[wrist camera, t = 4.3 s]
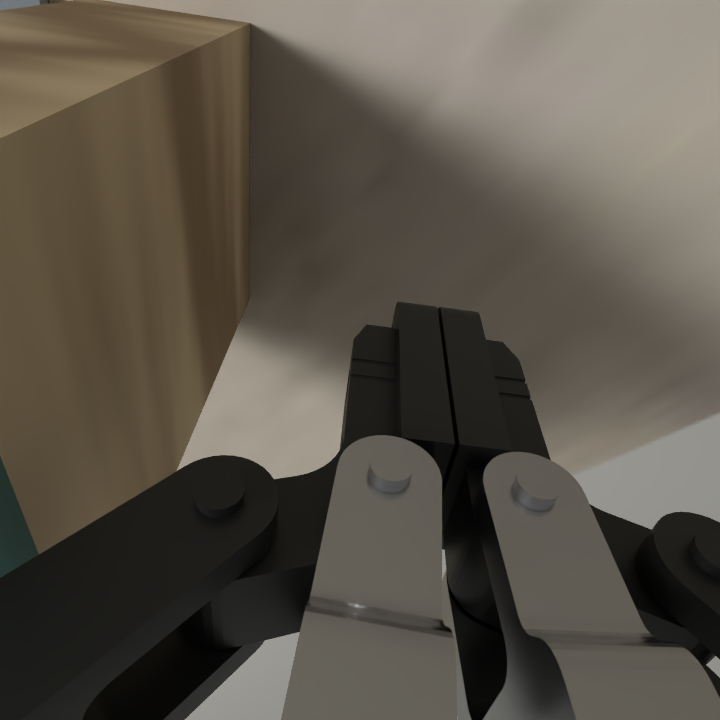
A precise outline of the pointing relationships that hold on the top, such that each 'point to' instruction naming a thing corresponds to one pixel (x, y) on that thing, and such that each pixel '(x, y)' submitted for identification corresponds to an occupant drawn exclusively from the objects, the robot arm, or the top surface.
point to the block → (113, 251)
